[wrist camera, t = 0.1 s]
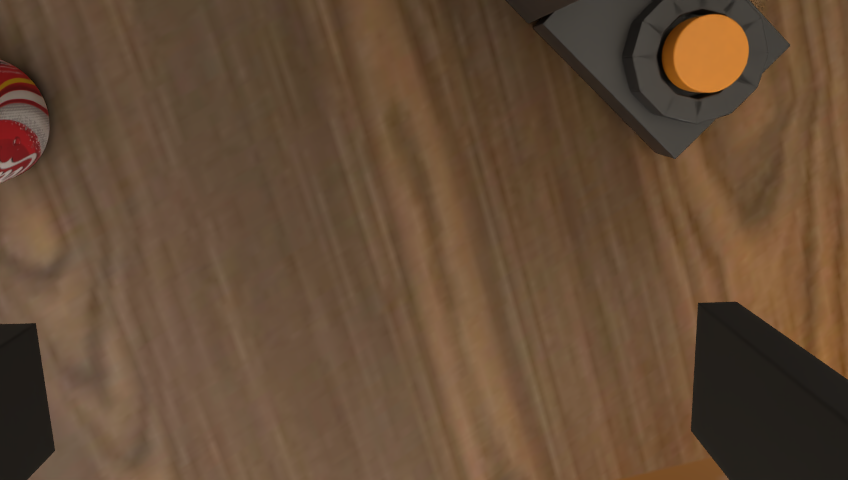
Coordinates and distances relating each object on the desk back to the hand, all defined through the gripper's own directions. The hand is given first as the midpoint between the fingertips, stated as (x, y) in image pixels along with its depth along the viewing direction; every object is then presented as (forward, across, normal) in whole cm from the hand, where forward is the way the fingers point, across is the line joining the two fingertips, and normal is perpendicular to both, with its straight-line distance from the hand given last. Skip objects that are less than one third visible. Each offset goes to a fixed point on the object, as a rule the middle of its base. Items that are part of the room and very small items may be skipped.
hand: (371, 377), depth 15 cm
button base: (+28, +14, +8) cm, 32 cm away
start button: (+23, +15, +6) cm, 29 cm away
